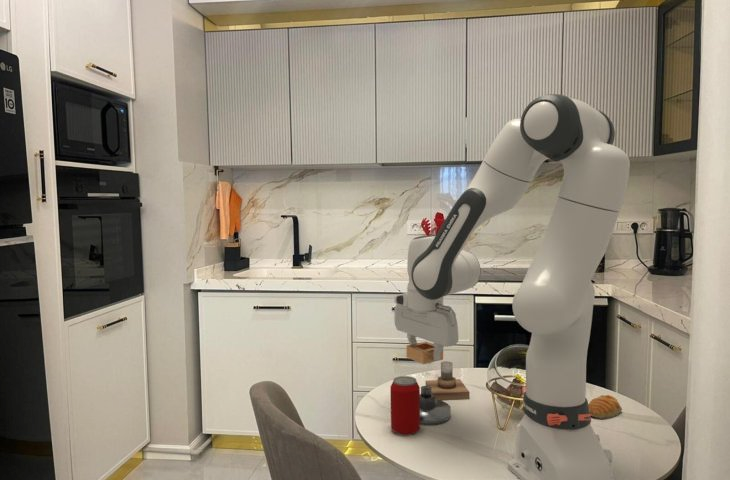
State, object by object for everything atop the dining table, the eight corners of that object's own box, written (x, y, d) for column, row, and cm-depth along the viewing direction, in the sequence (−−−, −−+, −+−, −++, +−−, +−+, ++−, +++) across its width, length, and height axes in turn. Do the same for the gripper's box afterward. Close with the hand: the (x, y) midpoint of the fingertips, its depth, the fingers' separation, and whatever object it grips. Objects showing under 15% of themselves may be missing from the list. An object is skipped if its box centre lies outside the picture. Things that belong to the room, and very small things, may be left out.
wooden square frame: (443, 359, 123) (443, 347, 123) (423, 364, 120) (423, 351, 120) (425, 353, 129) (426, 341, 128) (406, 357, 125) (406, 345, 125)
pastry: (606, 423, 119) (606, 408, 119) (579, 415, 124) (579, 400, 124) (623, 412, 125) (623, 397, 125) (596, 405, 130) (596, 390, 130)
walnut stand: (469, 399, 135) (469, 368, 134) (432, 400, 134) (432, 369, 134) (459, 385, 145) (459, 357, 144) (425, 387, 144) (425, 358, 144)
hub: (460, 417, 123) (460, 389, 123) (423, 429, 117) (423, 400, 116) (428, 402, 133) (428, 376, 133) (392, 412, 127) (392, 385, 126)
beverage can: (419, 424, 120) (419, 375, 119) (420, 437, 113) (419, 385, 112) (391, 423, 120) (391, 374, 119) (390, 436, 114) (389, 384, 113)
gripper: (465, 306, 116) (464, 364, 117) (409, 293, 133) (409, 344, 134) (444, 309, 113) (444, 369, 114) (390, 295, 130) (390, 347, 131)
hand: (424, 355), depth 124 cm, fingers closed on wooden square frame, 6 cm apart
